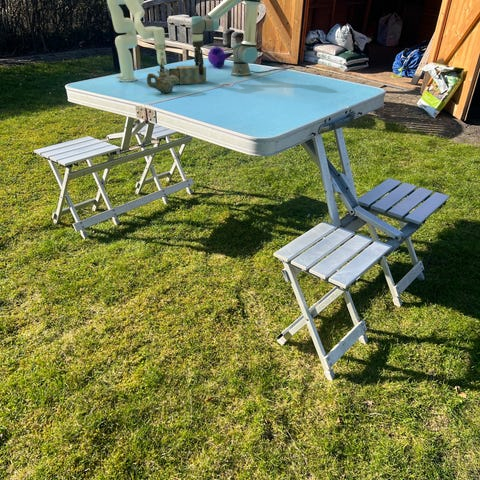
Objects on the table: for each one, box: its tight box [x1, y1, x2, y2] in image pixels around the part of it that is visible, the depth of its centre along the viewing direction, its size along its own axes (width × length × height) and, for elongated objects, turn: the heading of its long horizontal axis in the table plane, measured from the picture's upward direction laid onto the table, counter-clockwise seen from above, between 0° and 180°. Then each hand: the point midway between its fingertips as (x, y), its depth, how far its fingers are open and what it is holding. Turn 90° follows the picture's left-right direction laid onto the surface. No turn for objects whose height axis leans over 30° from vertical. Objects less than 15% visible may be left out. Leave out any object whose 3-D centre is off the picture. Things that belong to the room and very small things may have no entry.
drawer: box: [157, 67, 180, 83], centre depth 324 cm, size 24×9×9 cm, turn 109°
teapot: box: [146, 69, 179, 94], centre depth 299 cm, size 21×12×15 cm, turn 109°
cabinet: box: [176, 64, 207, 85], centre depth 328 cm, size 19×10×11 cm, turn 109°
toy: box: [207, 46, 233, 69], centre depth 382 cm, size 16×18×27 cm
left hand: (162, 74), depth 321 cm, fingers closed
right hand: (199, 73), depth 329 cm, fingers closed on cabinet, 10 cm apart
